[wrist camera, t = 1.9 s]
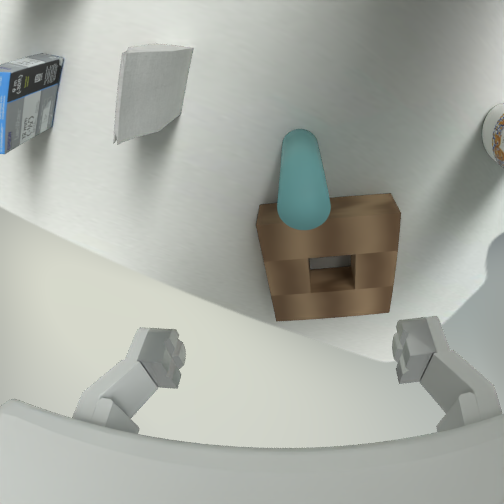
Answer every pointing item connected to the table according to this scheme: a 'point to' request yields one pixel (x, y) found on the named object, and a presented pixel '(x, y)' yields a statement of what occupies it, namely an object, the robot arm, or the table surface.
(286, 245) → the socket block
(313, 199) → the peg
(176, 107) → the white carton
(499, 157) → the bath foam
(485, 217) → the table surface
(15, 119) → the label tape box
